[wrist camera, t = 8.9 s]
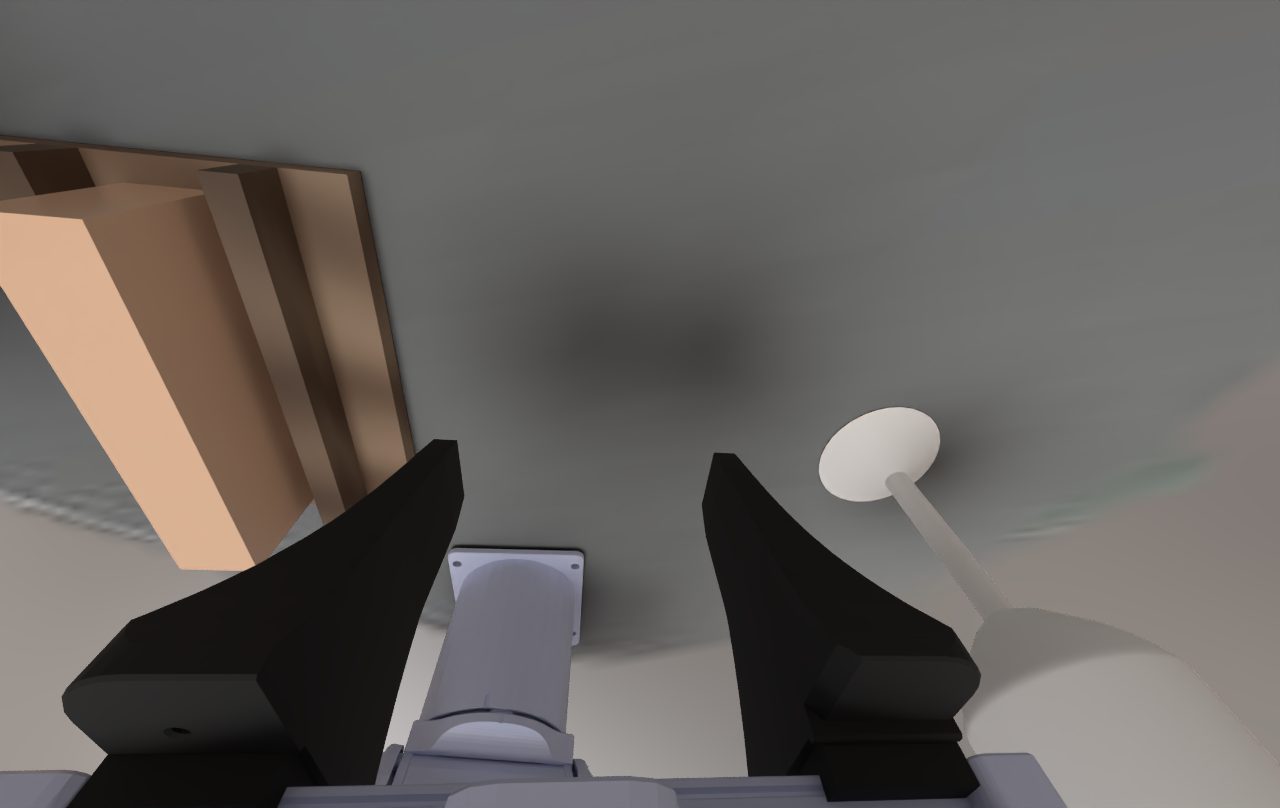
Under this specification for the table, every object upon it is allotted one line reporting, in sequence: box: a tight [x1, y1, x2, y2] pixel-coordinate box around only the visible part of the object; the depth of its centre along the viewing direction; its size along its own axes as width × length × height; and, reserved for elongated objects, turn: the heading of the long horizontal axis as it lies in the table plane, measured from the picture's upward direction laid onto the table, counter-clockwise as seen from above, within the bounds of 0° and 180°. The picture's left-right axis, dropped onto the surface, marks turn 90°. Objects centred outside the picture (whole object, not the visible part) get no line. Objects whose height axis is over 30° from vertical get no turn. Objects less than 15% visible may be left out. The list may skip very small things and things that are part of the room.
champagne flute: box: [819, 407, 1280, 808], centre depth 16 cm, size 7×7×24 cm
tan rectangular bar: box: [0, 183, 314, 571], centre depth 18 cm, size 14×3×5 cm, turn 174°
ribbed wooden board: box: [0, 135, 415, 525], centre depth 20 cm, size 16×12×3 cm
